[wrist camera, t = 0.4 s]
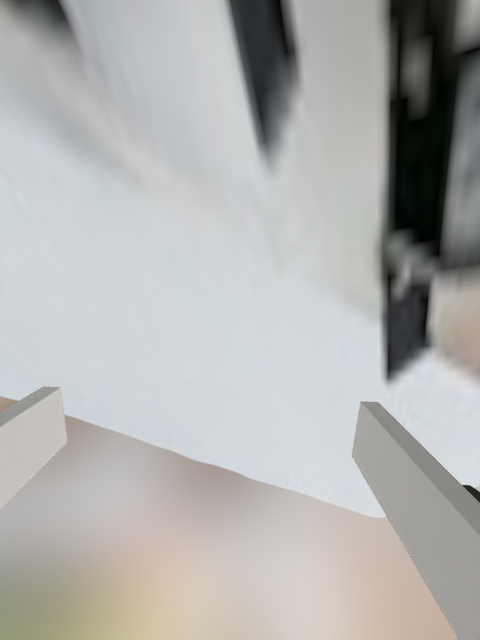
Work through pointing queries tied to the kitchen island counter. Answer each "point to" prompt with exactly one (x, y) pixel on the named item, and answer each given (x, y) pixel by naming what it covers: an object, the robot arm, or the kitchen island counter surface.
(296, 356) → the kitchen island counter surface
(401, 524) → the robot arm
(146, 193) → the kitchen island counter surface
